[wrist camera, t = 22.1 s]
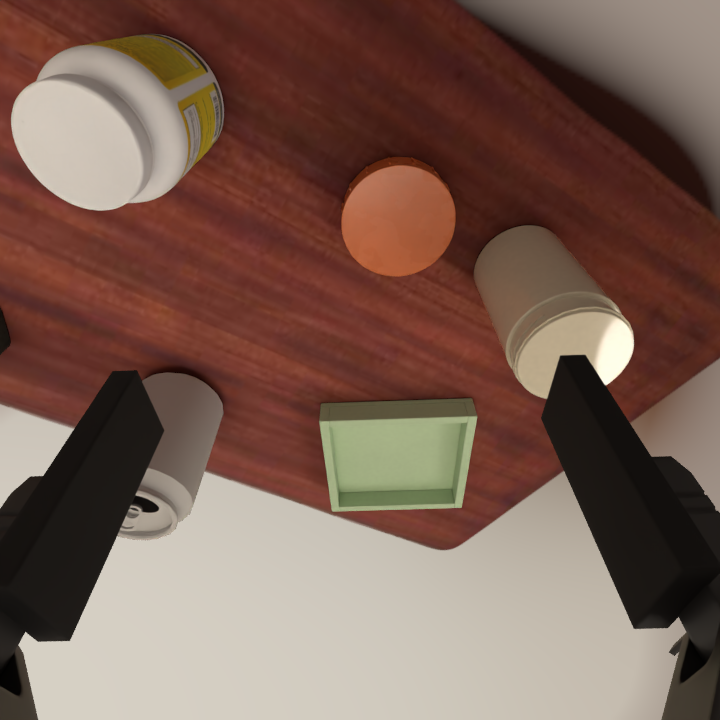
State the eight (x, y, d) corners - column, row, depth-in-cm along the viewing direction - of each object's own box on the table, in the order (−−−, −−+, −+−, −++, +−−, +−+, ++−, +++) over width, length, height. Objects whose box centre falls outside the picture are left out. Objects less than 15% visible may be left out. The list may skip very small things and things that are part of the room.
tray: (472, 397, 40) (477, 416, 38) (457, 489, 49) (461, 507, 47) (320, 403, 40) (319, 421, 39) (332, 493, 49) (331, 511, 47)
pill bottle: (89, 67, 25) (-57, 102, 16) (181, 9, 23) (75, 12, 14) (163, 174, 28) (77, 251, 19) (247, 130, 27) (195, 192, 18)
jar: (562, 211, 30) (641, 292, 21) (566, 292, 33) (636, 387, 25) (466, 241, 31) (506, 328, 23) (481, 315, 35) (520, 413, 26)
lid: (323, 183, 28) (321, 193, 27) (433, 136, 27) (438, 144, 25) (365, 278, 33) (366, 291, 31) (463, 242, 31) (468, 254, 30)
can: (239, 389, 39) (202, 510, 30) (207, 437, 43) (165, 557, 34) (154, 351, 37) (84, 471, 27) (128, 406, 41) (59, 528, 31)
